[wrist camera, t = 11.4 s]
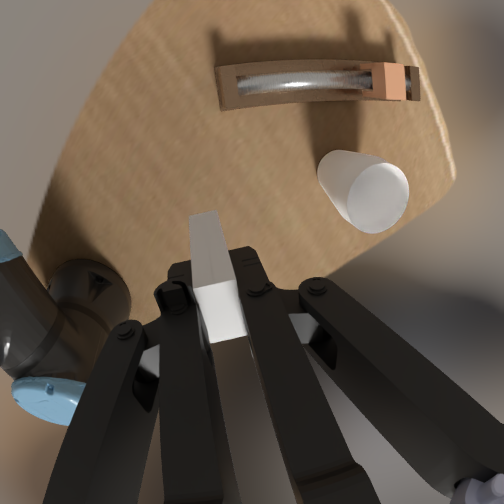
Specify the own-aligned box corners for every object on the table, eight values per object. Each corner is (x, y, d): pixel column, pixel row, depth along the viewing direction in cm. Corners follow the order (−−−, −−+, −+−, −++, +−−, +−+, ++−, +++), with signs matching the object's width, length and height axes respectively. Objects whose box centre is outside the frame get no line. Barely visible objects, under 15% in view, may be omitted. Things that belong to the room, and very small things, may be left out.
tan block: (362, 96, 34) (386, 99, 29) (359, 63, 32) (383, 62, 27) (381, 96, 35) (406, 100, 30) (378, 65, 32) (403, 64, 27)
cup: (321, 132, 39) (363, 150, 29) (371, 153, 42) (420, 176, 32) (300, 190, 43) (333, 225, 33) (350, 206, 46) (391, 241, 36)
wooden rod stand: (220, 111, 36) (224, 113, 31) (214, 67, 33) (217, 62, 28) (398, 100, 38) (421, 104, 33) (396, 64, 35) (419, 64, 30)
